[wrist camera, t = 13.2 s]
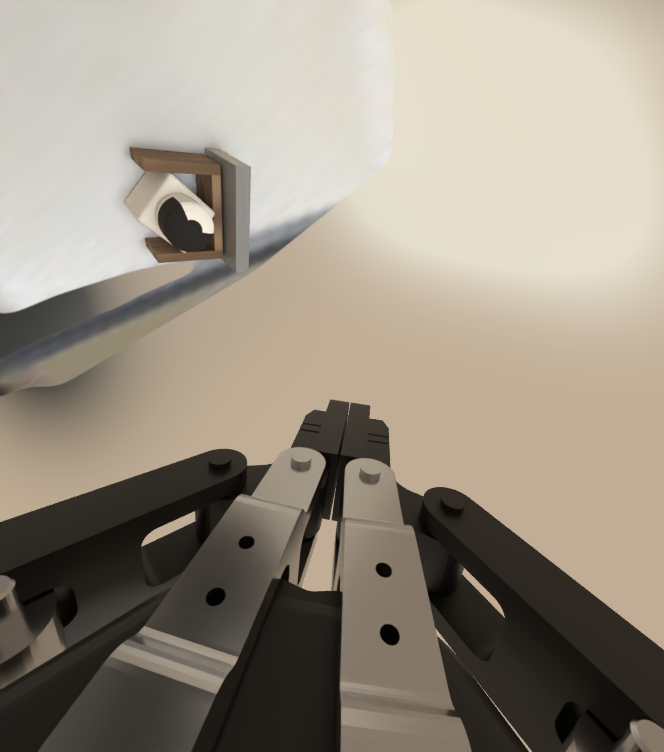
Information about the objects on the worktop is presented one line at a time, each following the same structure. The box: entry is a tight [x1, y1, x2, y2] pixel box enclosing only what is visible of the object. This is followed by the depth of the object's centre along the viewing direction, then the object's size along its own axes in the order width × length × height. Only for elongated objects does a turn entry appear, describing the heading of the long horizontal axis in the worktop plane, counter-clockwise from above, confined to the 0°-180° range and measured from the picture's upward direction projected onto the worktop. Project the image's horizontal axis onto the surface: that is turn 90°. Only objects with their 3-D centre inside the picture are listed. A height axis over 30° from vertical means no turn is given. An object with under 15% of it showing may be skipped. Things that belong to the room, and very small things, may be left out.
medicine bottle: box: [125, 171, 215, 253], centre depth 44 cm, size 7×7×12 cm
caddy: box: [130, 148, 223, 263], centre depth 47 cm, size 12×9×6 cm
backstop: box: [205, 148, 251, 273], centre depth 49 cm, size 14×2×10 cm, turn 169°
